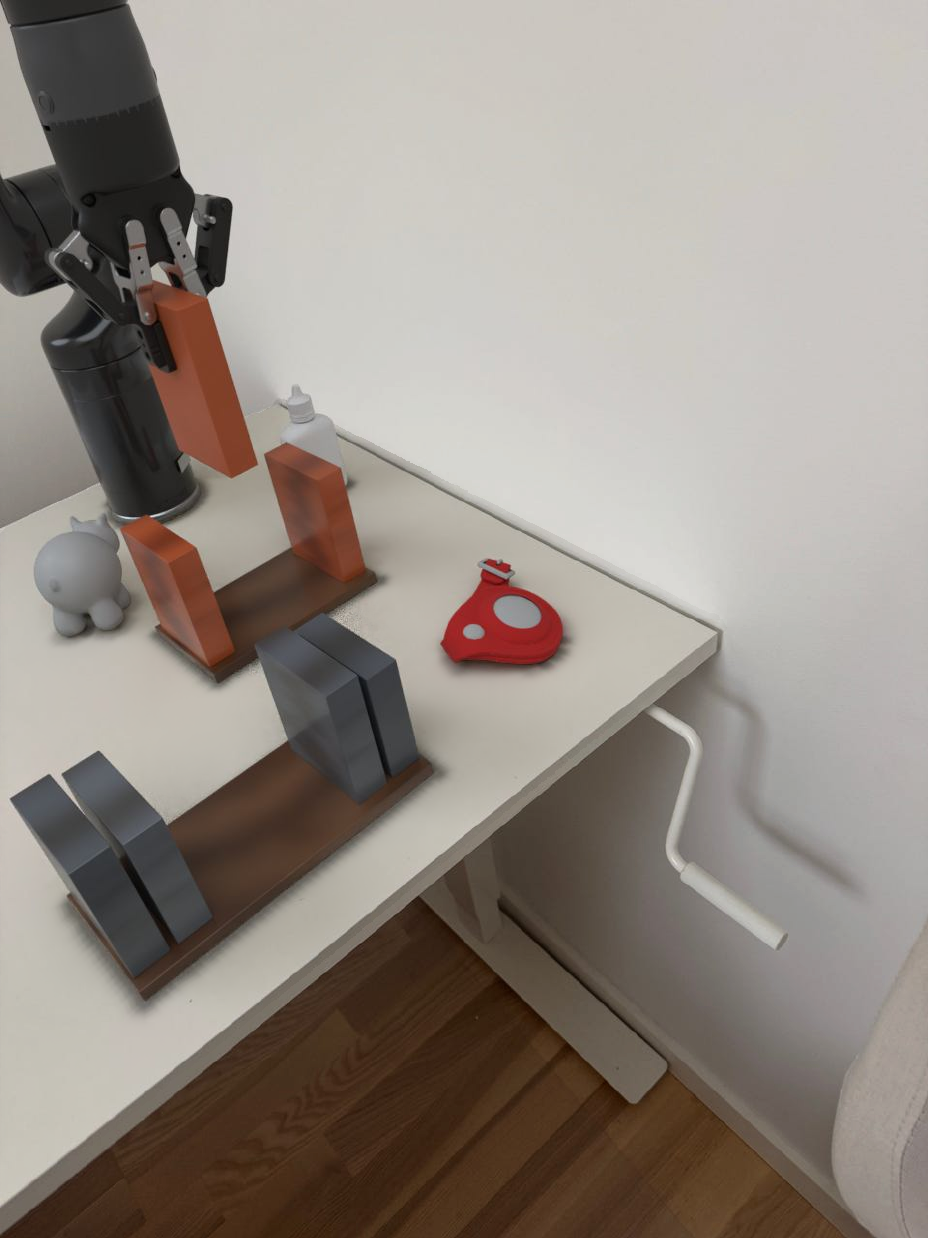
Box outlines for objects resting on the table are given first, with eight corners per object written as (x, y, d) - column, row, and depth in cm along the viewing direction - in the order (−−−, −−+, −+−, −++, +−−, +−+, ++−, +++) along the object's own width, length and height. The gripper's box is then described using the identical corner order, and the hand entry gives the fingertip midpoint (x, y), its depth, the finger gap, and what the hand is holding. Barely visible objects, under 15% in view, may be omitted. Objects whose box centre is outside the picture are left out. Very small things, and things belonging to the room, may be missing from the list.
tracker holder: (591, 630, 74) (486, 663, 69) (576, 669, 77) (474, 704, 72) (506, 536, 81) (405, 560, 76) (495, 575, 84) (396, 601, 79)
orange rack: (158, 635, 84) (110, 525, 77) (312, 544, 92) (282, 437, 85) (217, 683, 77) (171, 569, 70) (377, 581, 86) (351, 469, 78)
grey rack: (71, 904, 62) (-3, 792, 55) (347, 709, 73) (314, 595, 66) (144, 1002, 56) (71, 889, 49) (434, 772, 67) (407, 654, 60)
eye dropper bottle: (294, 489, 101) (263, 383, 93) (346, 476, 101) (320, 370, 94) (299, 509, 97) (268, 401, 90) (352, 495, 98) (326, 387, 90)
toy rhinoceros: (161, 559, 93) (131, 484, 88) (124, 638, 84) (88, 559, 79) (91, 566, 94) (57, 492, 89) (47, 645, 85) (5, 567, 80)
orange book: (178, 449, 77) (121, 290, 69) (205, 437, 78) (151, 278, 70) (231, 479, 72) (176, 310, 64) (258, 464, 73) (207, 297, 65)
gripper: (166, 71, 65) (237, 318, 76) (-33, 124, 58) (76, 386, 69) (224, 74, 60) (291, 337, 71) (15, 132, 54) (124, 412, 64)
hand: (185, 360), depth 70 cm, fingers closed on orange book, 2 cm apart
